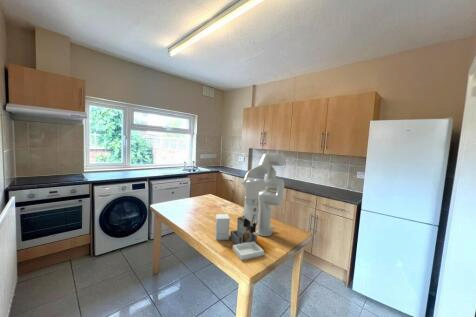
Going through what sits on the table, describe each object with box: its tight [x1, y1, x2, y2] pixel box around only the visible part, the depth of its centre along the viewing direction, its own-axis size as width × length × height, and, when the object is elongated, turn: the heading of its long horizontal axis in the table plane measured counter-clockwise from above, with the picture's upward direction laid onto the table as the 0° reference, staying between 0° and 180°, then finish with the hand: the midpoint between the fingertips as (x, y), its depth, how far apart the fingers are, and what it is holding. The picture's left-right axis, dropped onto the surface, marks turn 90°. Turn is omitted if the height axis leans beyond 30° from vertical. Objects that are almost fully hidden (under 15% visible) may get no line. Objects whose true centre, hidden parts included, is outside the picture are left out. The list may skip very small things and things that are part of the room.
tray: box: [232, 241, 265, 261], centre depth 118 cm, size 15×12×3 cm
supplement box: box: [214, 213, 231, 241], centre depth 136 cm, size 9×9×15 cm
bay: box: [229, 229, 258, 245], centre depth 133 cm, size 14×12×5 cm
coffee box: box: [236, 216, 253, 244], centre depth 133 cm, size 9×6×16 cm
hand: (249, 229), depth 117 cm, fingers open, 8 cm apart
